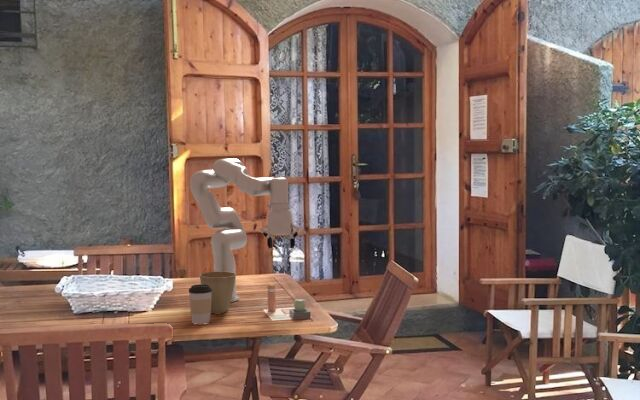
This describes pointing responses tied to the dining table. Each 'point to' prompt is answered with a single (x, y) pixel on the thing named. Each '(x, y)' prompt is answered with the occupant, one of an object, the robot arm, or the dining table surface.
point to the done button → (299, 305)
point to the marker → (271, 298)
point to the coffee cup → (200, 303)
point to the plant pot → (219, 289)
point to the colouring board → (280, 314)
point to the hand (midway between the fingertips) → (281, 247)
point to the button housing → (300, 314)
